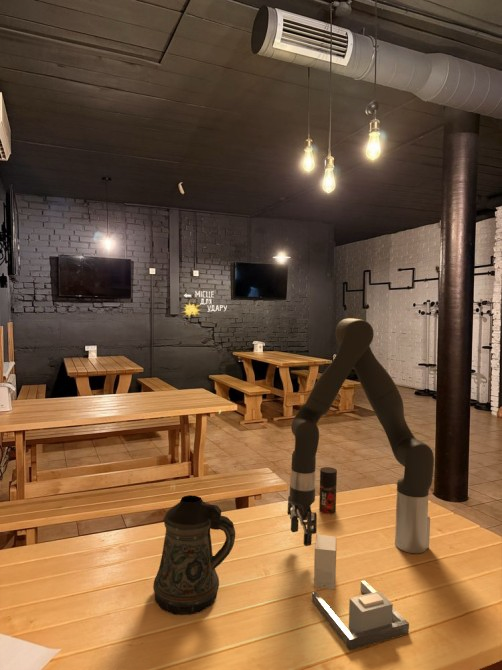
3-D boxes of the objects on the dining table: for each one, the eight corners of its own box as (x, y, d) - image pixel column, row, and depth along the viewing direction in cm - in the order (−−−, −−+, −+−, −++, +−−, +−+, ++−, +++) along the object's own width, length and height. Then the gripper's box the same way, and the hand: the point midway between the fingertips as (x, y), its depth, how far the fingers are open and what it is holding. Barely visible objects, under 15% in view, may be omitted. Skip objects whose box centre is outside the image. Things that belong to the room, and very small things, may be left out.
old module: (378, 619, 108) (379, 588, 107) (391, 634, 103) (392, 601, 102) (348, 627, 105) (349, 595, 104) (361, 642, 100) (362, 609, 100)
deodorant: (336, 508, 167) (338, 468, 166) (334, 515, 162) (335, 473, 161) (320, 506, 169) (321, 466, 168) (317, 512, 164) (318, 471, 163)
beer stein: (147, 583, 120) (147, 490, 119) (217, 568, 128) (218, 480, 126) (161, 624, 105) (161, 518, 104) (239, 603, 113) (241, 504, 111)
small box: (335, 590, 119) (336, 551, 118) (313, 587, 120) (314, 548, 119) (335, 573, 126) (336, 536, 126) (315, 570, 128) (316, 533, 127)
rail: (364, 589, 119) (364, 580, 119) (408, 633, 103) (408, 623, 103) (311, 601, 114) (311, 592, 114) (349, 650, 98) (350, 639, 98)
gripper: (326, 492, 129) (323, 548, 130) (303, 474, 143) (301, 525, 144) (302, 495, 127) (300, 552, 128) (281, 477, 140) (279, 528, 141)
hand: (300, 538), depth 136 cm, fingers open, 8 cm apart
